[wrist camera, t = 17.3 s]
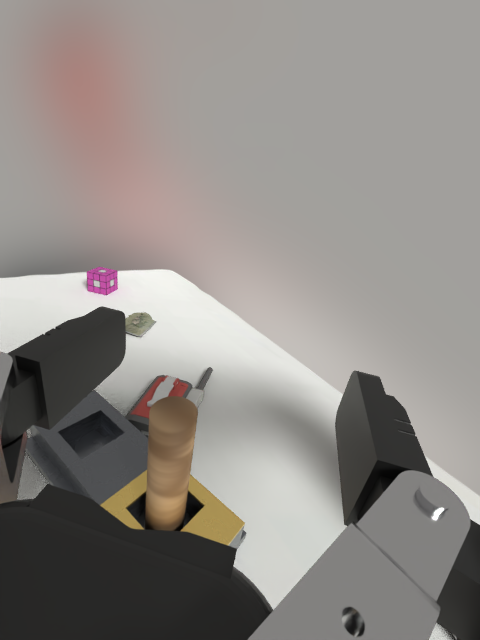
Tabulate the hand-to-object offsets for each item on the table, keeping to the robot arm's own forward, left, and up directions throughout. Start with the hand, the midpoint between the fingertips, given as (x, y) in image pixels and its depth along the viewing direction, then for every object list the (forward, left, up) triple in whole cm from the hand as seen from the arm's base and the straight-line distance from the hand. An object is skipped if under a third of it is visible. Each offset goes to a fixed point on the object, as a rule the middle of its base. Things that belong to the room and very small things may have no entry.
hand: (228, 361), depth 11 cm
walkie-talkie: (-21, -24, -31) cm, 44 cm away
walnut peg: (-7, -9, -29) cm, 31 cm away
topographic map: (-32, -53, -31) cm, 69 cm away
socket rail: (-7, -16, -30) cm, 35 cm away
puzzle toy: (-37, -72, -30) cm, 87 cm away
